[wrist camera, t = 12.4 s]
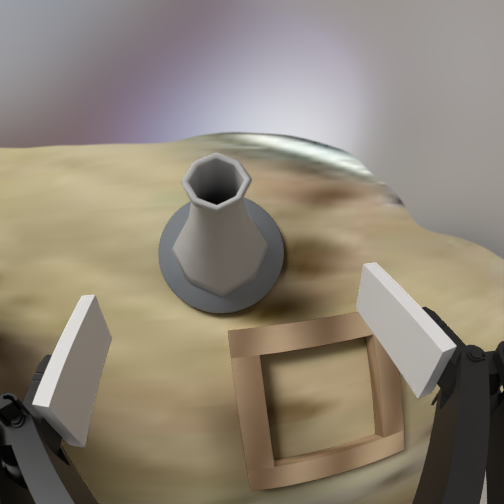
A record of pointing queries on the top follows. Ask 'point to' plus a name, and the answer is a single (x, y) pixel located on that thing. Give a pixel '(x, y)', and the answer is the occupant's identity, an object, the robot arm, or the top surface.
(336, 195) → the top surface
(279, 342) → the holder
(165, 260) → the coaster
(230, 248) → the flask
